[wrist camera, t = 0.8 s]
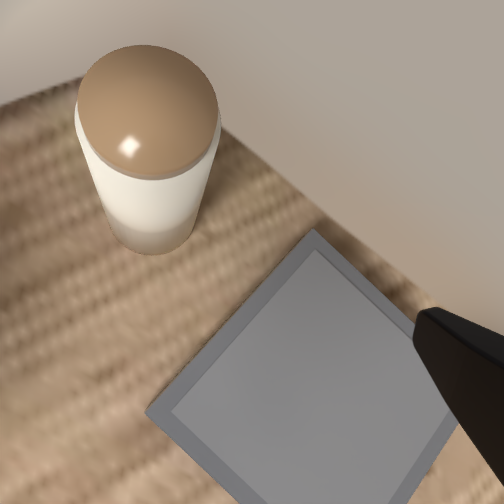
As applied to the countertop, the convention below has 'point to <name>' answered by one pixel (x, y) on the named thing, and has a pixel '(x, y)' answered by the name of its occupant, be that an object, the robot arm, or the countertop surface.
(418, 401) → the slate trivet
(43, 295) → the countertop surface
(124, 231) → the spice jar
